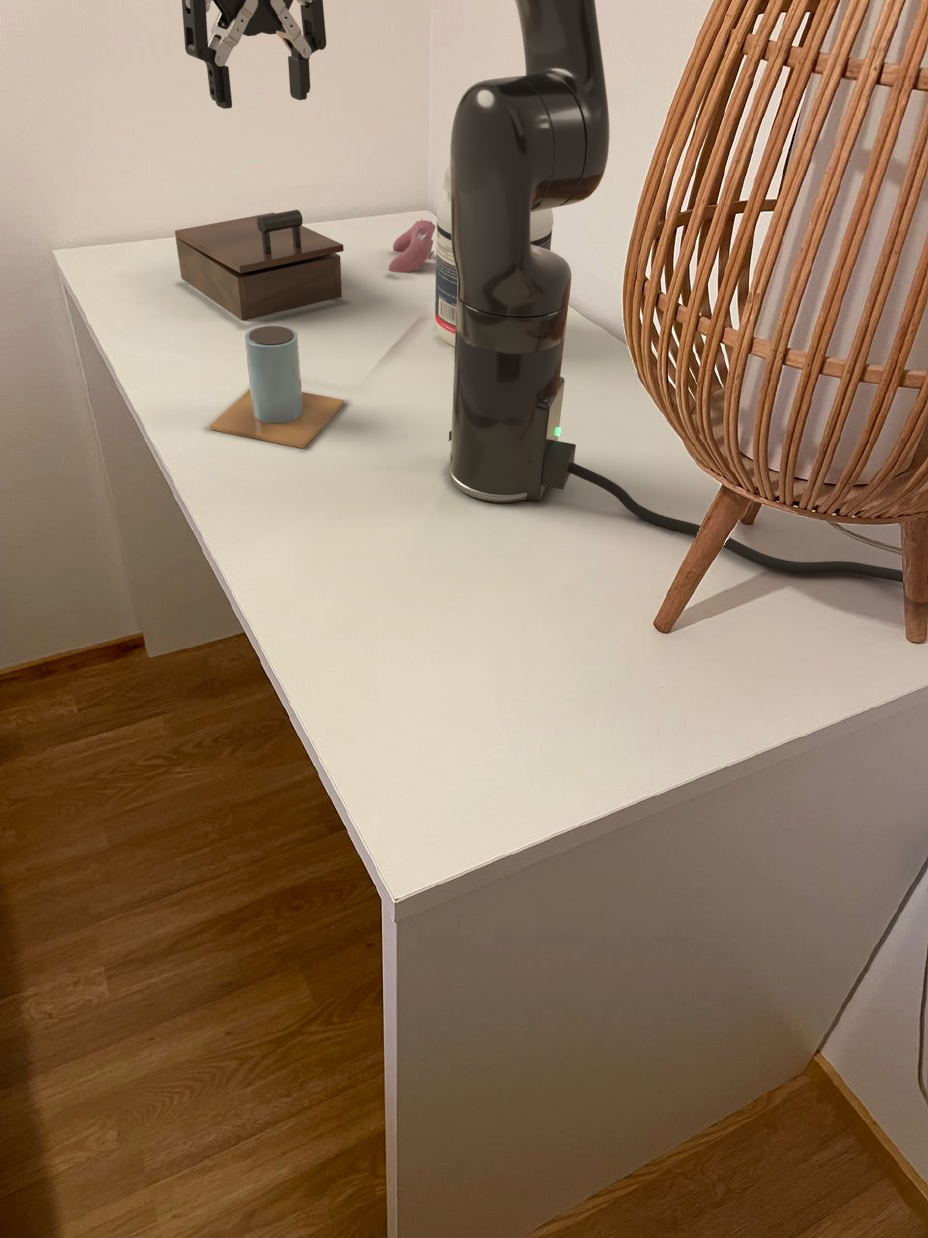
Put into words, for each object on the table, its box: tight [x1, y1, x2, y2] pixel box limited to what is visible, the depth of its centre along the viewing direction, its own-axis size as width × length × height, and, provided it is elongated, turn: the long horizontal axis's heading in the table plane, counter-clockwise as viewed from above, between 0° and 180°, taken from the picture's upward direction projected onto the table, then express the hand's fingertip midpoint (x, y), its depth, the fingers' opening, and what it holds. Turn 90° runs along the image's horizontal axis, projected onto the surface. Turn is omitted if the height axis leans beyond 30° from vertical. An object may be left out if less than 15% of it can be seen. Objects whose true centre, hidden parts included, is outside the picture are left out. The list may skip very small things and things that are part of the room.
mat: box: [209, 389, 345, 449], centre depth 98 cm, size 10×10×1 cm
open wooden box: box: [175, 237, 343, 322], centre depth 120 cm, size 16×14×6 cm
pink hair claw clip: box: [388, 217, 436, 273], centre depth 130 cm, size 10×5×7 cm, turn 179°
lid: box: [174, 209, 345, 273], centre depth 116 cm, size 17×14×5 cm
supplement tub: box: [434, 164, 554, 348], centre depth 109 cm, size 13×13×18 cm
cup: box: [244, 324, 303, 424], centre depth 95 cm, size 5×5×8 cm
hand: (262, 102), depth 99 cm, fingers open, 8 cm apart
